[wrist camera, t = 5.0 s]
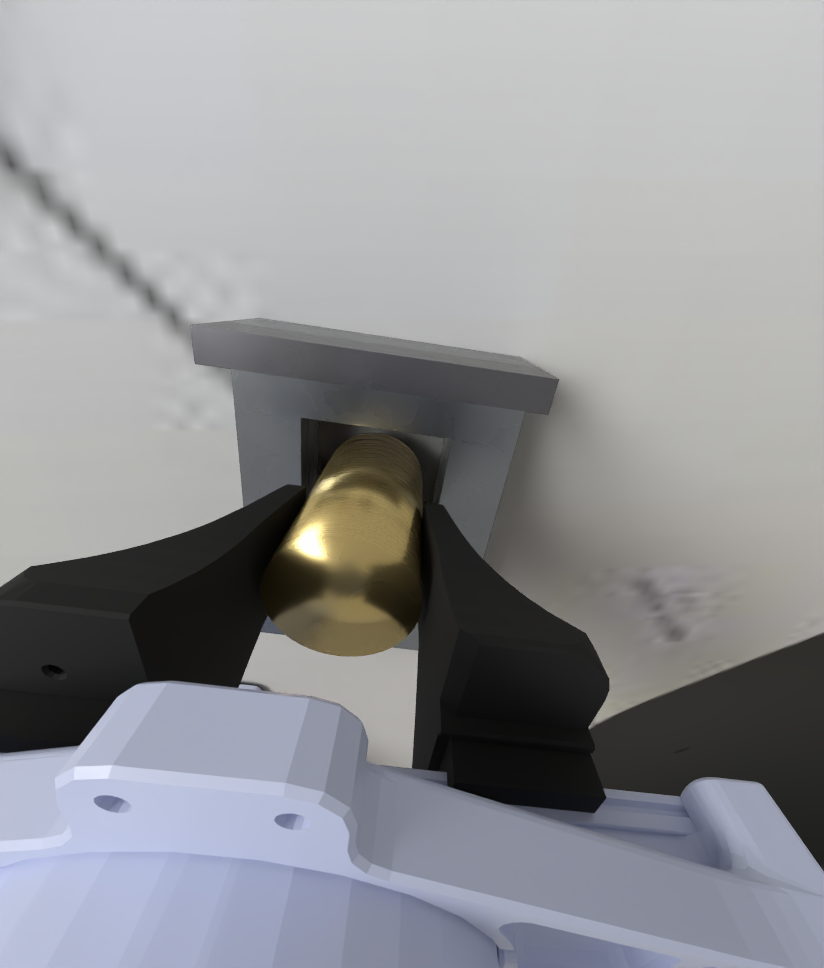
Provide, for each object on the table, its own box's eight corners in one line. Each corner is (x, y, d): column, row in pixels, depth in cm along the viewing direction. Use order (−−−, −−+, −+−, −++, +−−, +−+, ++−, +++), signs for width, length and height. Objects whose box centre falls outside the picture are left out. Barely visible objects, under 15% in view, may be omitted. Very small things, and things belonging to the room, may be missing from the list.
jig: (452, 615, 20) (459, 693, 16) (273, 594, 20) (235, 668, 16) (519, 357, 14) (558, 379, 10) (259, 318, 13) (189, 324, 9)
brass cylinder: (408, 527, 16) (398, 669, 10) (321, 505, 16) (254, 639, 10) (434, 448, 14) (443, 560, 8) (337, 420, 14) (267, 517, 8)
